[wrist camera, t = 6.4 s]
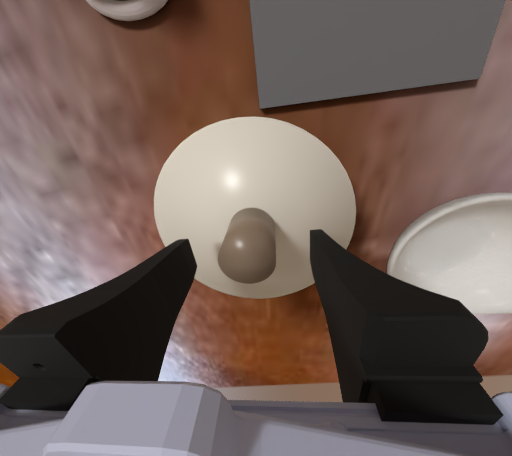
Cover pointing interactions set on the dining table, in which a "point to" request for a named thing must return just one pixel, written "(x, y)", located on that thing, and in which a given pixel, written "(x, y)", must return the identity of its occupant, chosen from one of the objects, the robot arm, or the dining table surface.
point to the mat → (366, 46)
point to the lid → (253, 204)
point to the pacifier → (127, 8)
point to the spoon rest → (461, 252)
